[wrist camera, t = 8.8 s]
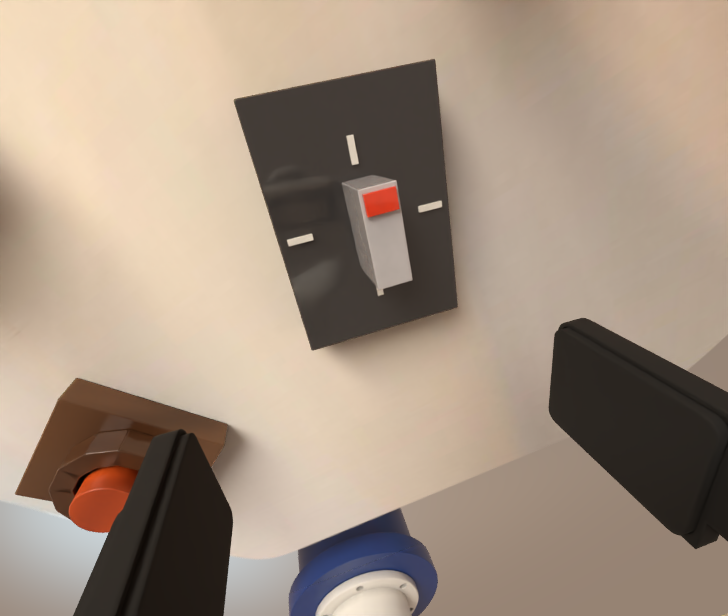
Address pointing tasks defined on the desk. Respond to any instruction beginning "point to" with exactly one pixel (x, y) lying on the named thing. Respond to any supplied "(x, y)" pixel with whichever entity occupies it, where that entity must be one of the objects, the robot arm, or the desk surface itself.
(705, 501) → the robot arm
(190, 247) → the desk surface
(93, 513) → the timer button
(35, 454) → the brown button mount
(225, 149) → the desk surface
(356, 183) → the light grey rectangular block
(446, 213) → the panel
